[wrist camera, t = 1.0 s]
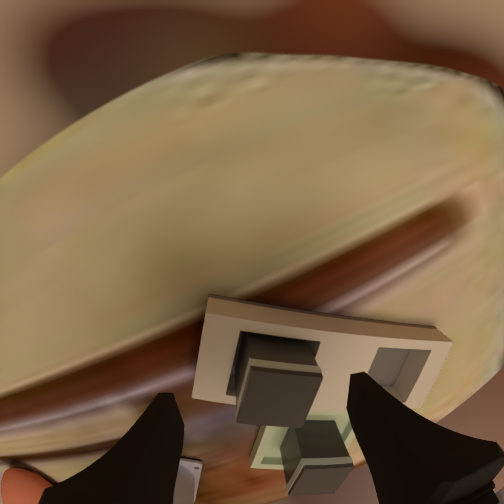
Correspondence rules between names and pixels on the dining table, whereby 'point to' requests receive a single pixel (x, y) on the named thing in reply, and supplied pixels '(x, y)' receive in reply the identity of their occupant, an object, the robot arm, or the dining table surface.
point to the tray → (272, 436)
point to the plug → (314, 458)
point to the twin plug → (275, 380)
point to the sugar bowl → (22, 486)
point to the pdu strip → (322, 351)
